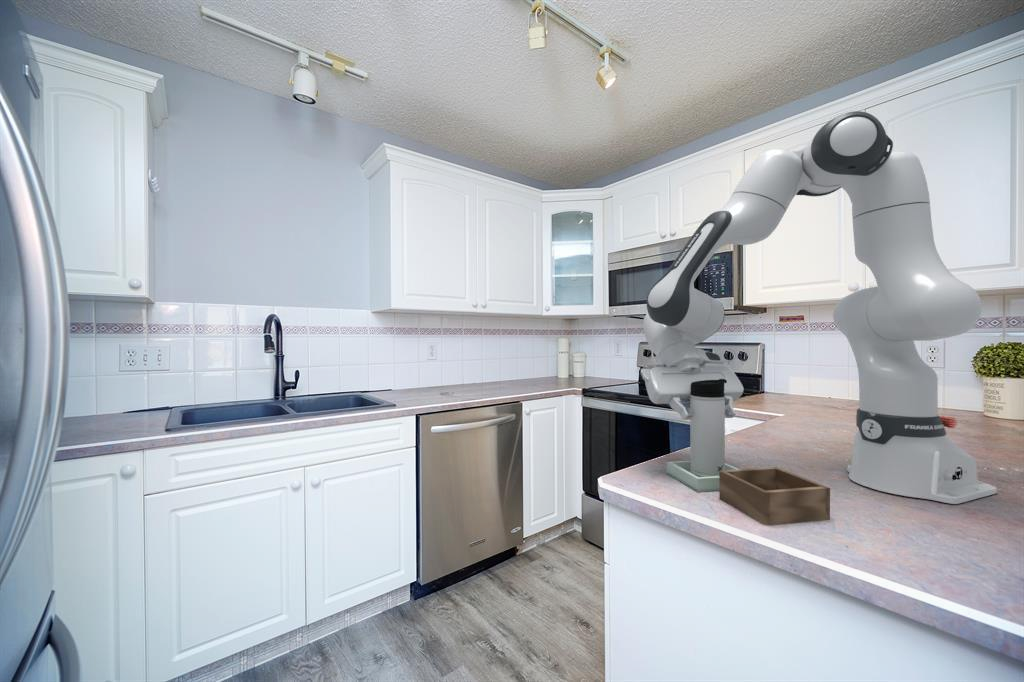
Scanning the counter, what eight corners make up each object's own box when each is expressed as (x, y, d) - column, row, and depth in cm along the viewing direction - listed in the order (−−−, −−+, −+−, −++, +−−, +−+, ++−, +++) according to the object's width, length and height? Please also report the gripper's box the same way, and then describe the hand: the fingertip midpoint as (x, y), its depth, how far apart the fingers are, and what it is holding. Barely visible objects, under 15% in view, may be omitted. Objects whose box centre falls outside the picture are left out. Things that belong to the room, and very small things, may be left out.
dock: (716, 470, 89) (716, 458, 89) (752, 488, 79) (752, 475, 79) (667, 473, 87) (666, 461, 87) (697, 492, 77) (697, 478, 77)
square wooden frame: (776, 494, 76) (776, 467, 75) (829, 519, 65) (830, 487, 65) (719, 498, 74) (719, 470, 74) (765, 525, 63) (765, 492, 63)
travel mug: (730, 484, 79) (730, 380, 79) (693, 482, 80) (693, 380, 80) (721, 474, 85) (721, 377, 85) (687, 472, 86) (687, 377, 86)
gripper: (642, 356, 88) (667, 409, 78) (728, 354, 91) (762, 406, 81) (633, 375, 92) (655, 428, 83) (715, 373, 95) (746, 424, 86)
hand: (709, 417), depth 82 cm, fingers open, 8 cm apart
